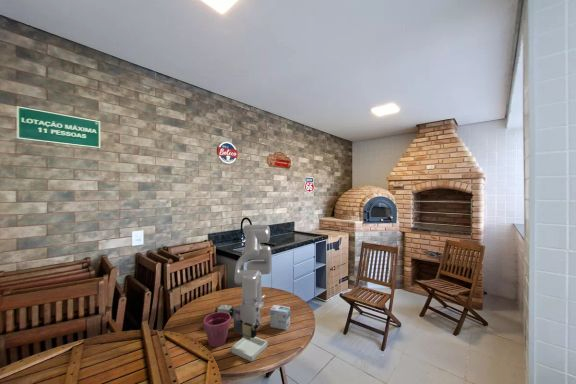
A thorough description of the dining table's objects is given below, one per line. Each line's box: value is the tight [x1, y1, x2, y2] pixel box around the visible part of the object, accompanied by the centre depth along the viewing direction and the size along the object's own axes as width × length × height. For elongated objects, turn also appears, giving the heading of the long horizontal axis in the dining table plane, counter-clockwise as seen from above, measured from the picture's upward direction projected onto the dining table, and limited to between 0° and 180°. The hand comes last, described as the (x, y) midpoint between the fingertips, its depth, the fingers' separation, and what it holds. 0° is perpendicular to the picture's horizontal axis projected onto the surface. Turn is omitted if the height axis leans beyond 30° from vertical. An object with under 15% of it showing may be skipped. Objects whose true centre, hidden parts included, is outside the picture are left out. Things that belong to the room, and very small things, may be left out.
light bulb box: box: [269, 304, 291, 331], centre depth 147 cm, size 11×7×11 cm, turn 71°
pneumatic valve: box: [214, 304, 235, 320], centre depth 148 cm, size 6×12×12 cm, turn 78°
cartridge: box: [242, 322, 258, 341], centre depth 125 cm, size 5×5×8 cm
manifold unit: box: [233, 304, 243, 336], centre depth 142 cm, size 9×10×15 cm
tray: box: [230, 336, 269, 363], centre depth 125 cm, size 13×13×2 cm
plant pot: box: [203, 312, 232, 348], centre depth 131 cm, size 14×14×13 cm
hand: (249, 334), depth 125 cm, fingers closed on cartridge, 5 cm apart
